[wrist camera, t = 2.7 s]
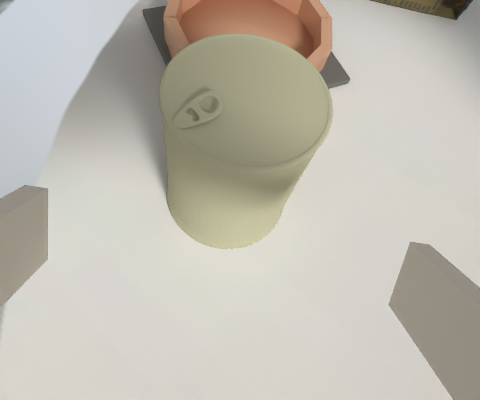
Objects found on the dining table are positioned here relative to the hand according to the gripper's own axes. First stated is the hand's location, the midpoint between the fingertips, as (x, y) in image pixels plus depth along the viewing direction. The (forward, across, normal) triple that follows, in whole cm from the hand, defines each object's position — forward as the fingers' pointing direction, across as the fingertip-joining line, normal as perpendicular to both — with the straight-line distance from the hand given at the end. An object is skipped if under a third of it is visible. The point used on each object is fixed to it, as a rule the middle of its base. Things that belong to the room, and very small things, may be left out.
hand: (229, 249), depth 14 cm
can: (+16, 0, +3) cm, 16 cm away
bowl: (+27, 0, -9) cm, 28 cm away
